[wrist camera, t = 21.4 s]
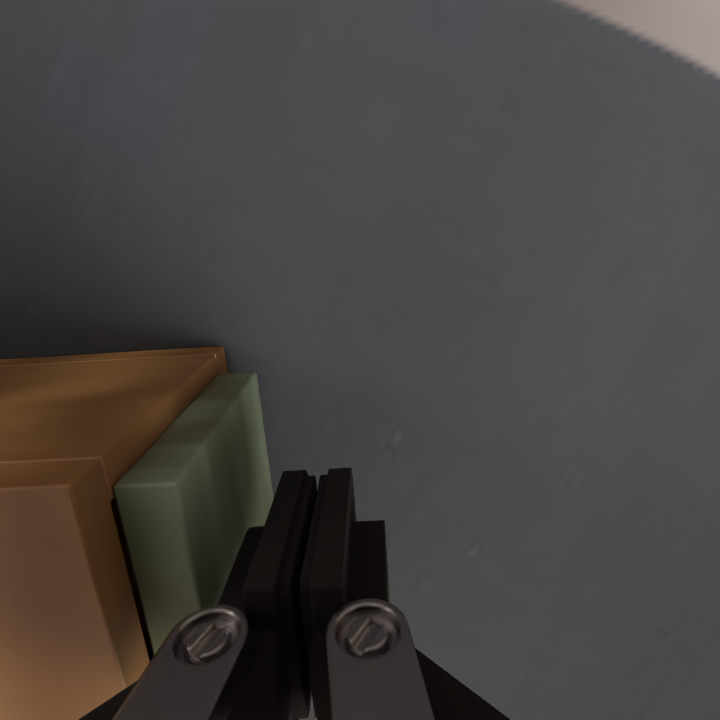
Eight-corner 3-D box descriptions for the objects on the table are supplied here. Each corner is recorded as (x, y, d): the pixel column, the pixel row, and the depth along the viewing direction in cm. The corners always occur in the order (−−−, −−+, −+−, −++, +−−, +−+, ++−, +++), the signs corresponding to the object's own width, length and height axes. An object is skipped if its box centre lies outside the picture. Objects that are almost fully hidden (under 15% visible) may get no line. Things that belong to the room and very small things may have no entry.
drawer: (296, 367, 15) (243, 479, 8) (329, 665, 18) (308, 898, 12) (-142, 393, 15) (-491, 516, 9) (-31, 677, 18) (-230, 908, 12)
